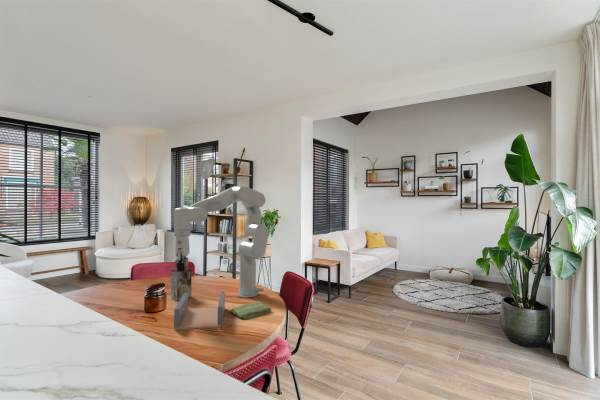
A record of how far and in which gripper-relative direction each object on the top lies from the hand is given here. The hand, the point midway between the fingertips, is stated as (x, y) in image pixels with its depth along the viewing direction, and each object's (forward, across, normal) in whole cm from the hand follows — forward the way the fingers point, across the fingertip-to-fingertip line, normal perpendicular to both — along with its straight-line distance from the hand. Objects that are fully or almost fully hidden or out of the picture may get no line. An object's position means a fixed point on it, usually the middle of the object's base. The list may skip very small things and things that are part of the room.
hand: (181, 269), depth 151 cm
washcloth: (+22, -4, -34) cm, 41 cm away
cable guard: (+22, -9, -11) cm, 26 cm away
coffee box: (+21, +24, +5) cm, 32 cm away
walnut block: (+1, 0, 0) cm, 1 cm away
